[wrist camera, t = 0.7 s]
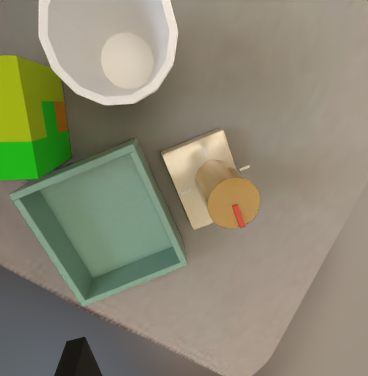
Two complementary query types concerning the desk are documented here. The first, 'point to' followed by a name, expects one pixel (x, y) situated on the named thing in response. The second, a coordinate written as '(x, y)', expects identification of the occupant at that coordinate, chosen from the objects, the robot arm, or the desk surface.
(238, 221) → the tap handle
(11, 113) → the puzzle toy
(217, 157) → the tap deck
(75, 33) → the foam cup
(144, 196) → the basin
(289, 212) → the desk surface
